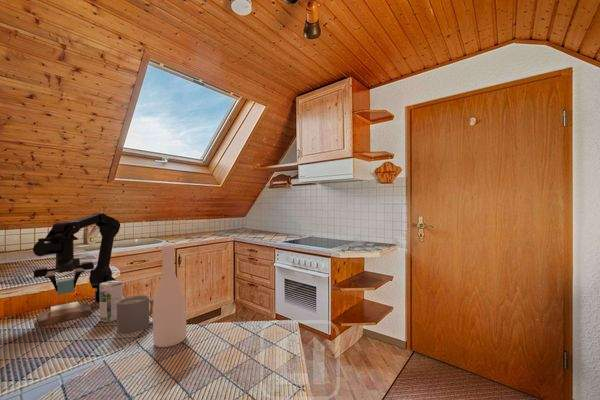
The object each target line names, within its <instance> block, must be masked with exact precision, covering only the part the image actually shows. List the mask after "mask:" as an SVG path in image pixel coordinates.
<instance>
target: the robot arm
mask: <svg viewBox="0 0 600 400" xmlns="http://www.w3.org/2000/svg"><path fill="white" fill-rule="evenodd" d="M91 225H95V226H97V227H98V229H99V234H100V235H101V240H100V246H99V252H98V258H97V264H96V266H95V264H94V262H93V261H91V260H90V261H83V262H81V259H80V257H79V258H78V257H77V258H75V256H74V255H75V253H74V252H75V251H74V250H75V249H74V247H75V245H74V241H77V240H79V238H78V237H77V236H76V235H75V234H77V233H79V231H80V230H81V229H84V228H87V227H88V226H91ZM120 228H121V223H120V222H119V220H118V219H116V218H114V217H111V216H109V215H107V214H106V213H104V212H96V213H92V214H90V215H87V216H84V217H83V216H82V217H81V218H78V219H74V220H70V221H69V220H68V221H58V222H55V223H53V225H52V227H51V228H50V230H49V232H48V233H47V235H45V237H43V238H42V237H41V238H38V239H37V242H36V243H35V244H34V245H33V247H32V252H33V254H34V255H35V256H37V257H45V256H50V255H55V267H54V268H53V267H52V268H48V267H45V266H44V267H40V268H39V267H38V268H35V269H34V270H33V278H35V279H36V278H43V277H44V279H49V281H50V282H51V283H52V285H53V288H54V289H55V292H57V291H58V288H57V278H56V273H58V274H64V273H67V272H69V273H70V272H74V273H73V280H74V289H75V288H76V285H77V283H78V280H79V278H80V276H81V274H82V273H85V271H88V270H90V271H89V273H90V274H89V277H88V280H89V284H90V285H91V288H92V289H95V291H94V301H95V302H96V303H100V284H101V283H104V282H107V281H117V280H116V279H115V278H114V277H113V272H112V269H111V268H110V263H111V257H112V251H113V245H114V239H115V237H116V236H117V235H118V234H119V231H120Z"/></svg>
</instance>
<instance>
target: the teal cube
mask: <svg viewBox="0 0 600 400" xmlns="http://www.w3.org/2000/svg"><path fill="white" fill-rule="evenodd" d="M56 283H57V288H58V291H57V295H58V296H61V295H65V294H71V293H75V288H74V277H71V278H65V279H60V280H57V279H56Z"/></svg>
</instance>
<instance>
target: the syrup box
mask: <svg viewBox="0 0 600 400" xmlns="http://www.w3.org/2000/svg"><path fill="white" fill-rule="evenodd" d="M123 286H124V285H123V281H121V280H119V281H118V280H116V281H107V282H104V283H101V284H100V302H99V322H103V323H104V322H105V323H112V322H114V321H117V301H119V300H121V299H124V298H123V297H124V296H123V294H124V293H123V291H124V290H123Z"/></svg>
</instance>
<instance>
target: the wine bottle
mask: <svg viewBox="0 0 600 400" xmlns="http://www.w3.org/2000/svg"><path fill="white" fill-rule="evenodd" d="M174 253H175V247H174V245H172V244H171V245H170V244H169V245H163V246H162V248H161V254H162V272H161V277H160V280H159V284H158V286H157V290H156V293H155V295H154V298H153V299H154V302H153V307H152V308H153V313H152V338H153V340H152V341H153V345H154V346H156V347H158V348H169V347H173V346H176V345H179V344H181V343H182V342H184V340H185V339H186V337H187V333H188V331H187V300H186V297H185V295H184V293H183V289H182V286H181V284H180V283H179V280H178V278H177V275H176V271H175V258H174V257H175V256H174Z"/></svg>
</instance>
